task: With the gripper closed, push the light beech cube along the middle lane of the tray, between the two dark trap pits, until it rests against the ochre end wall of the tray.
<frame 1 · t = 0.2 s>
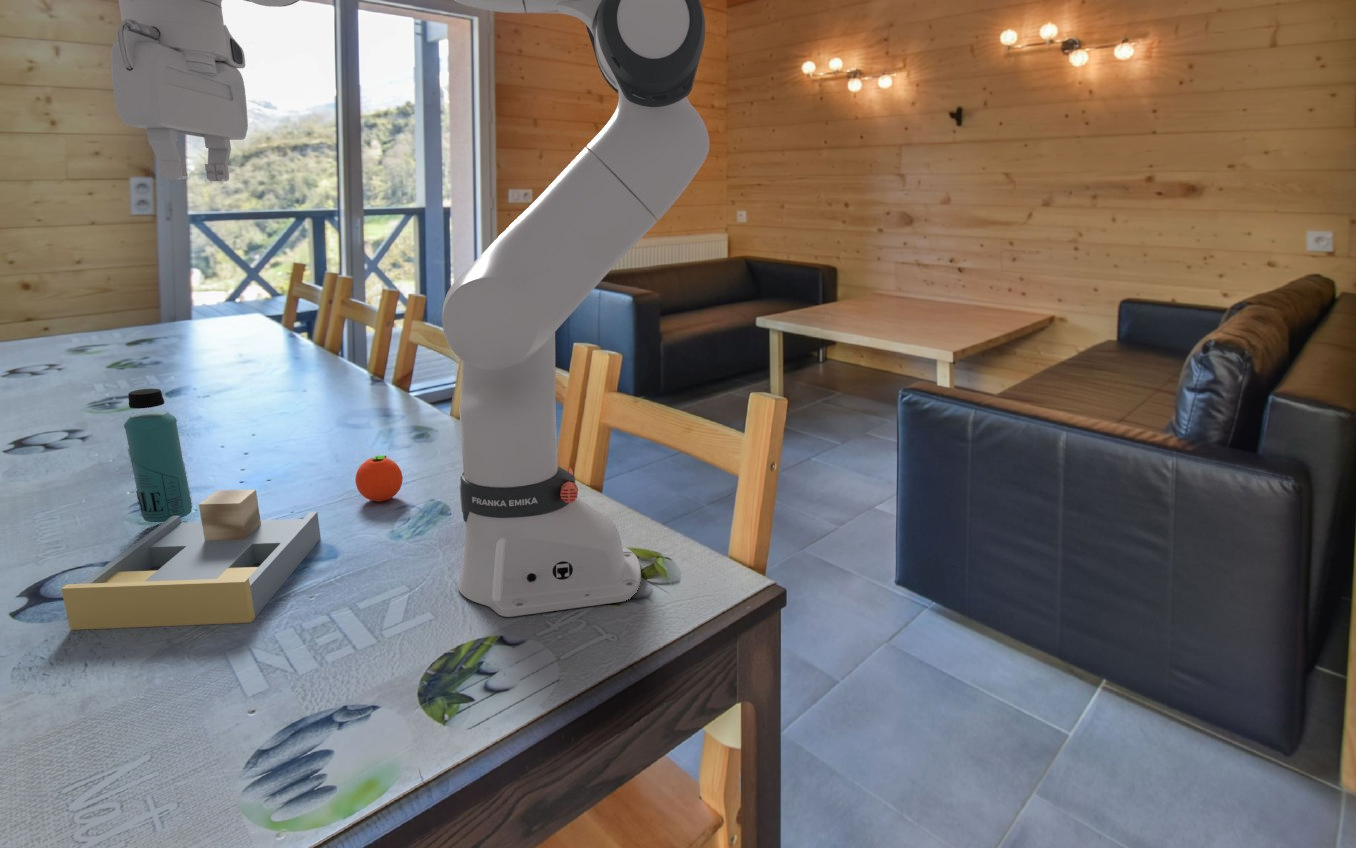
hand: (198, 180, 84), 47 cm above the table, tool pointing down, fingers open, 8 cm apart
beverage bottle: (169, 525, 116), on the table
cube: (233, 532, 106), point 3 cm above the table, touching tray
clementine: (382, 500, 126), on the table
tray: (212, 576, 100), on the table
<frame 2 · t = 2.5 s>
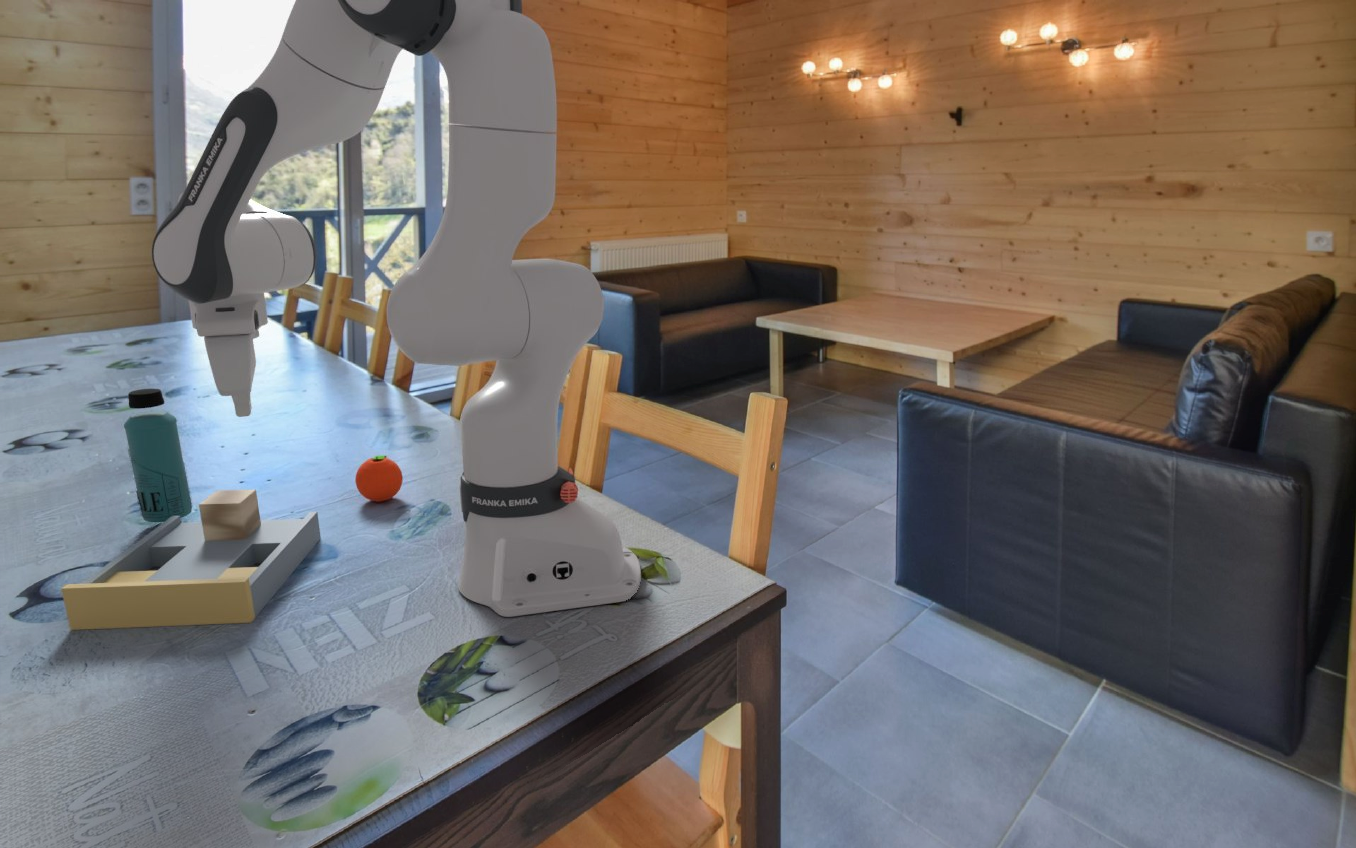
hand: (244, 413, 110), 17 cm above the table, tool pointing down, fingers closed
nothing on the table moved.
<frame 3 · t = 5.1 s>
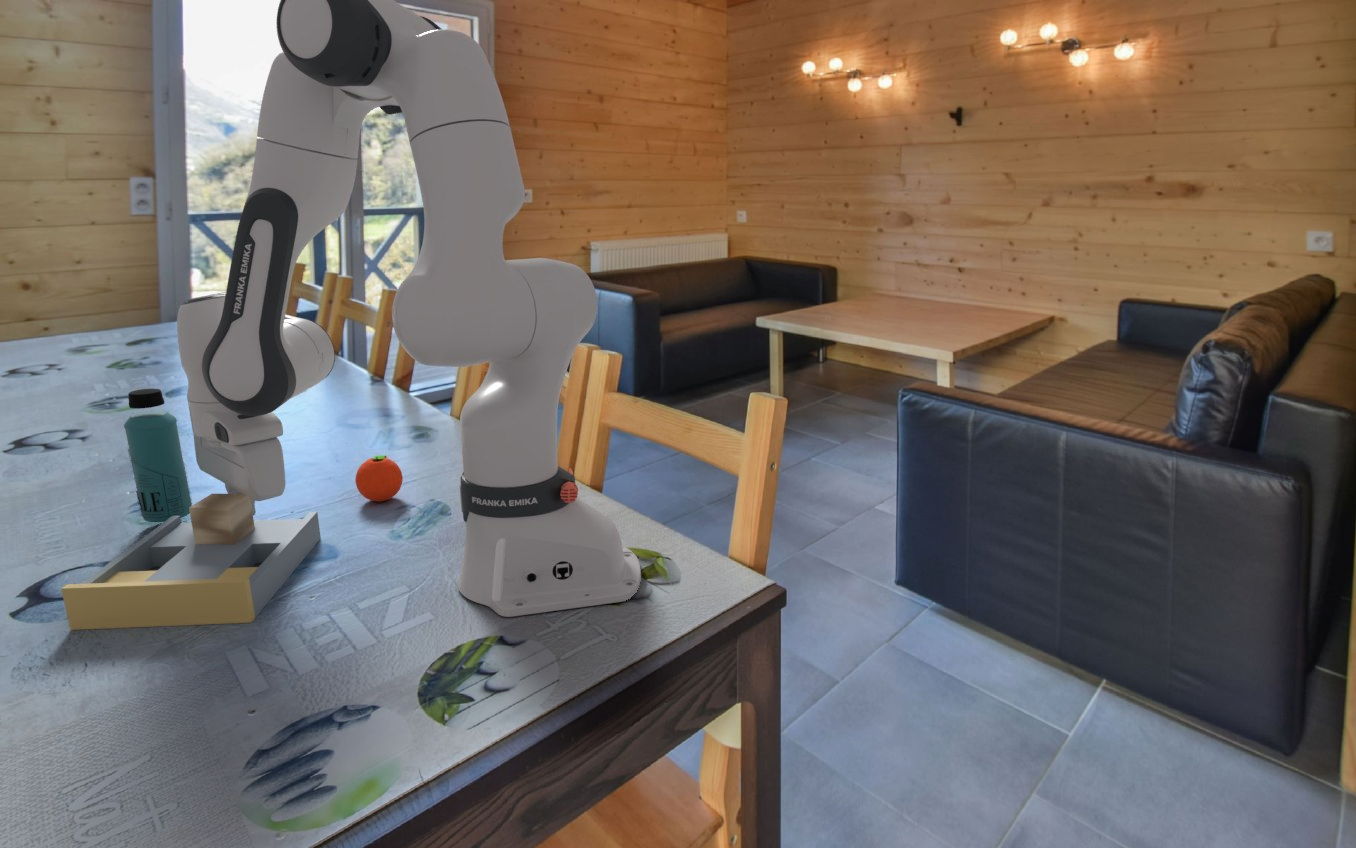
hand: (244, 514, 109), 4 cm above the table, tool pointing down, fingers closed
cube: (225, 536, 105), point 3 cm above the table, touching gripper, tray
everything else where it was.
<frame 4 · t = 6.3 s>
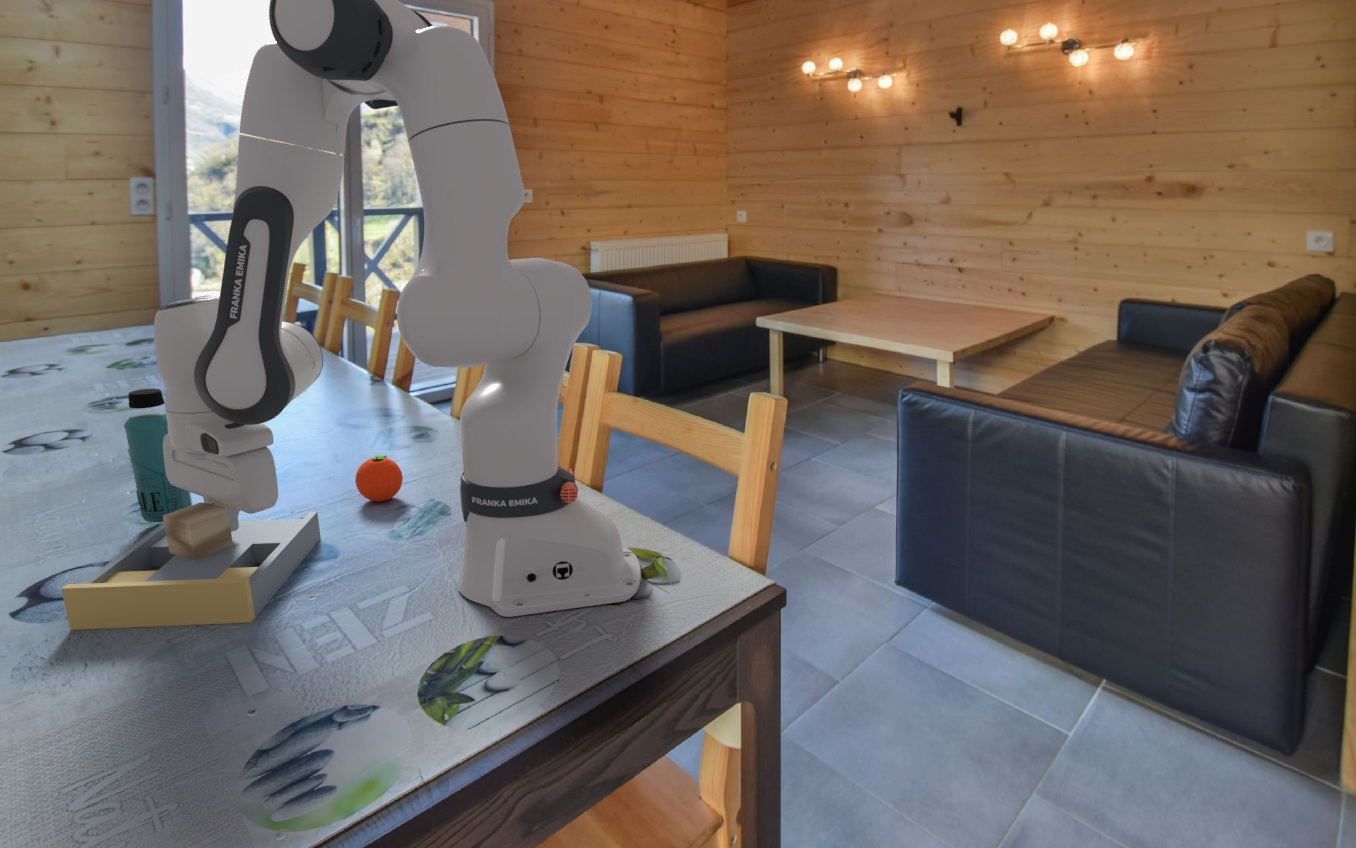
hand: (226, 529, 104), 4 cm above the table, tool pointing down, fingers closed
cube: (201, 549, 101), point 3 cm above the table, touching gripper, tray
everything else where it was.
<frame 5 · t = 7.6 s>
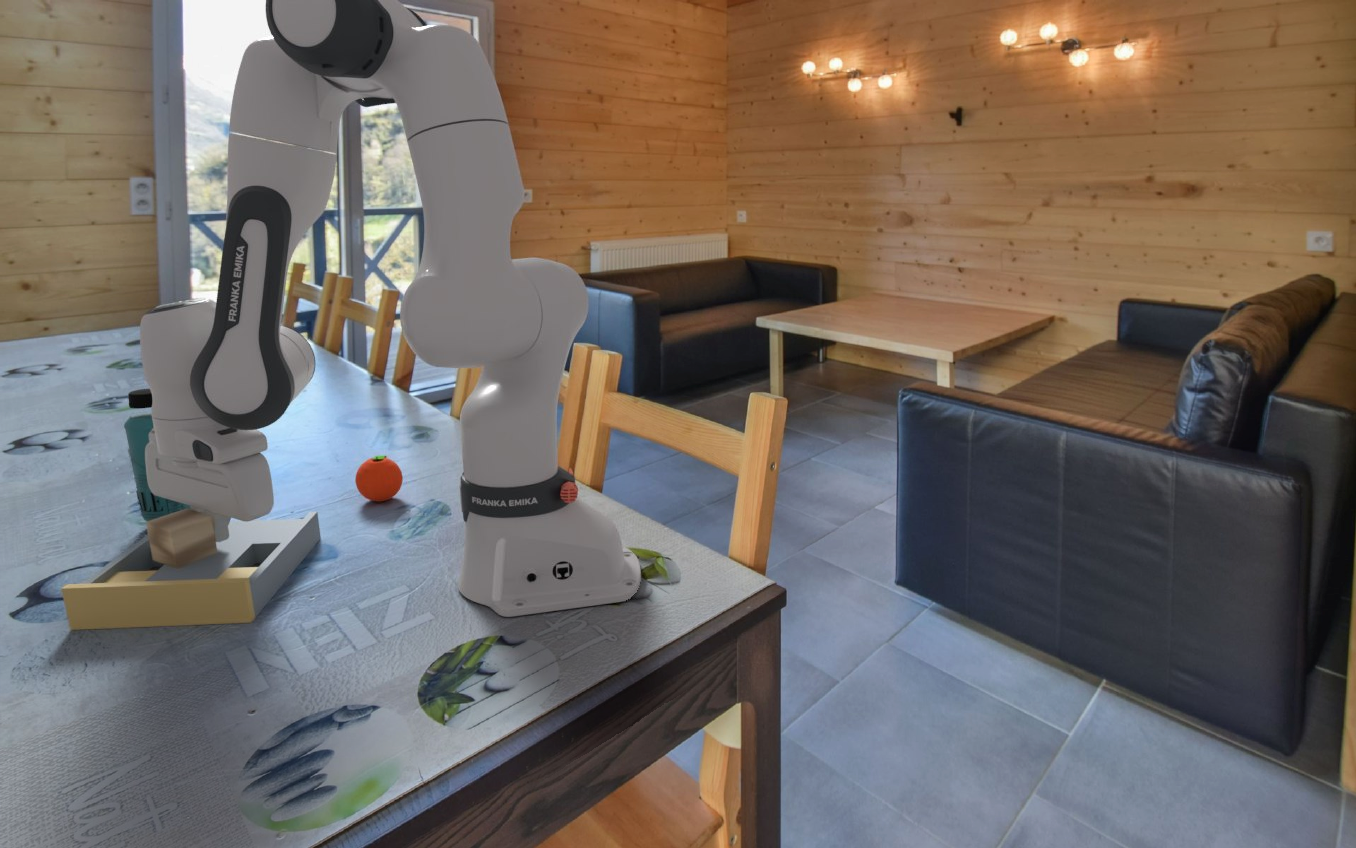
hand: (216, 538, 101), 4 cm above the table, tool pointing down, fingers closed
cube: (185, 556, 99), point 3 cm above the table, touching gripper, tray
everything else where it was.
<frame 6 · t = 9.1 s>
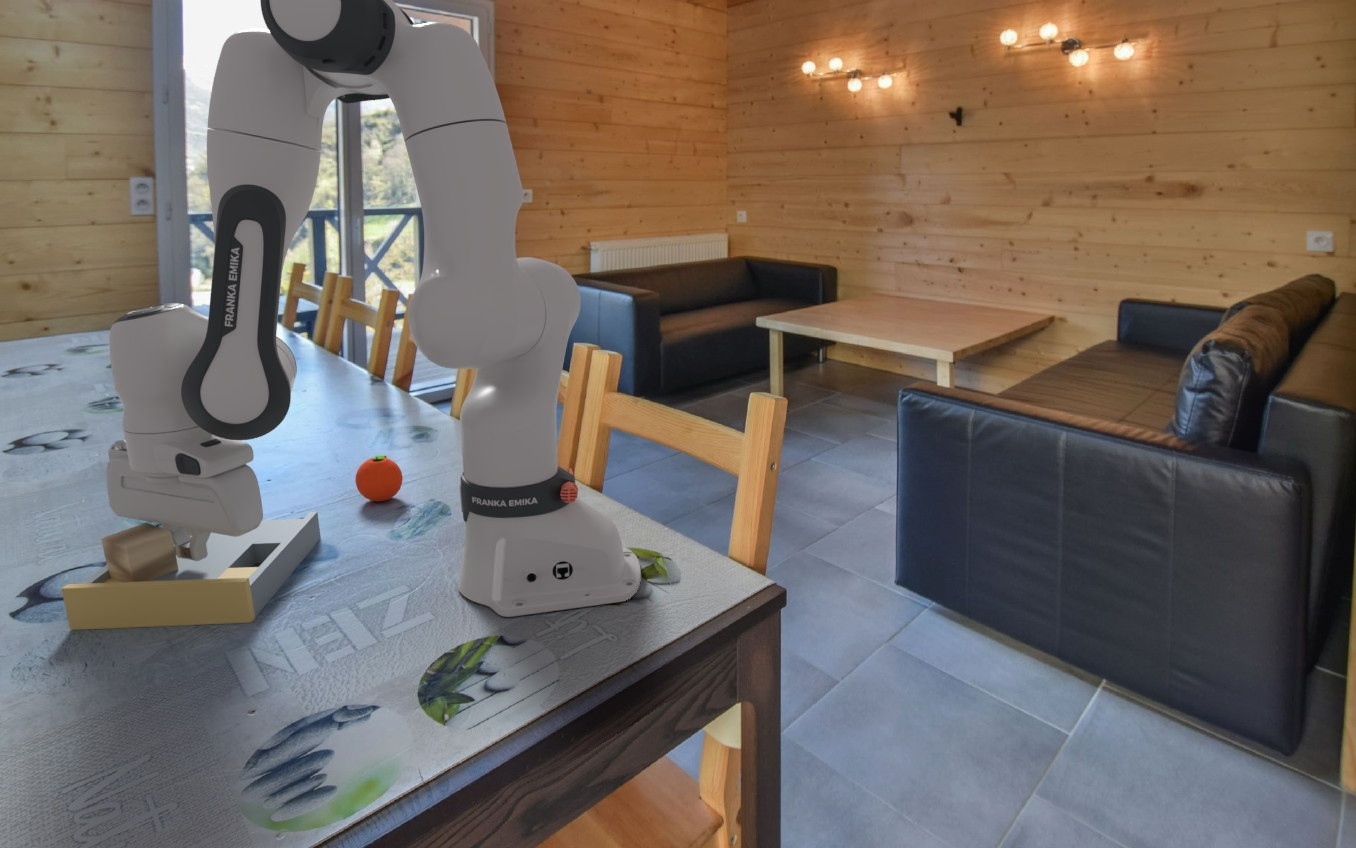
hand: (192, 557, 96), 4 cm above the table, tool pointing down, fingers closed
cube: (144, 573, 94), point 3 cm above the table, touching gripper, tray
everything else where it was.
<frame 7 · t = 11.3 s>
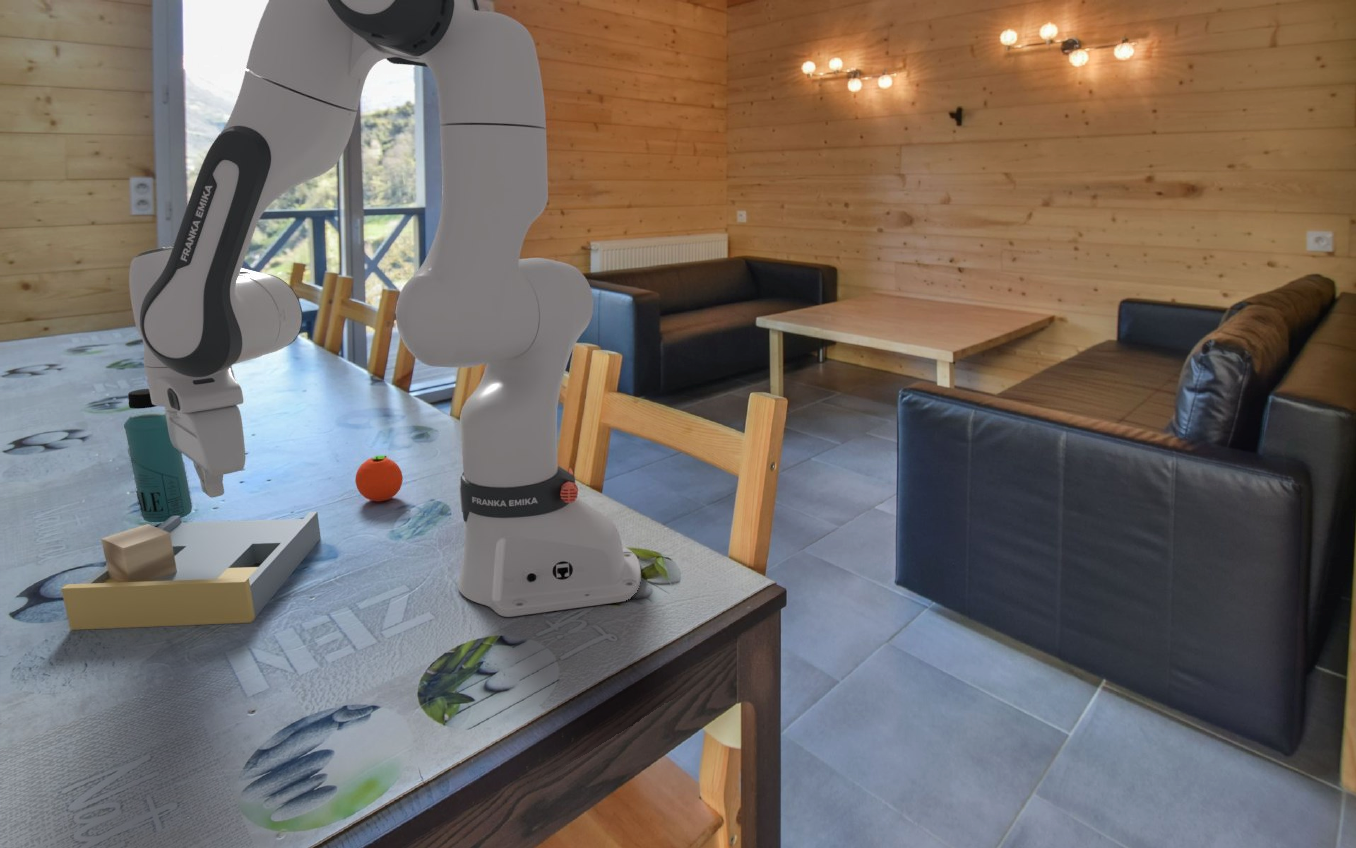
hand: (213, 494, 99), 10 cm above the table, tool pointing down, fingers closed
cube: (143, 575, 94), point 3 cm above the table, touching tray
everything else where it was.
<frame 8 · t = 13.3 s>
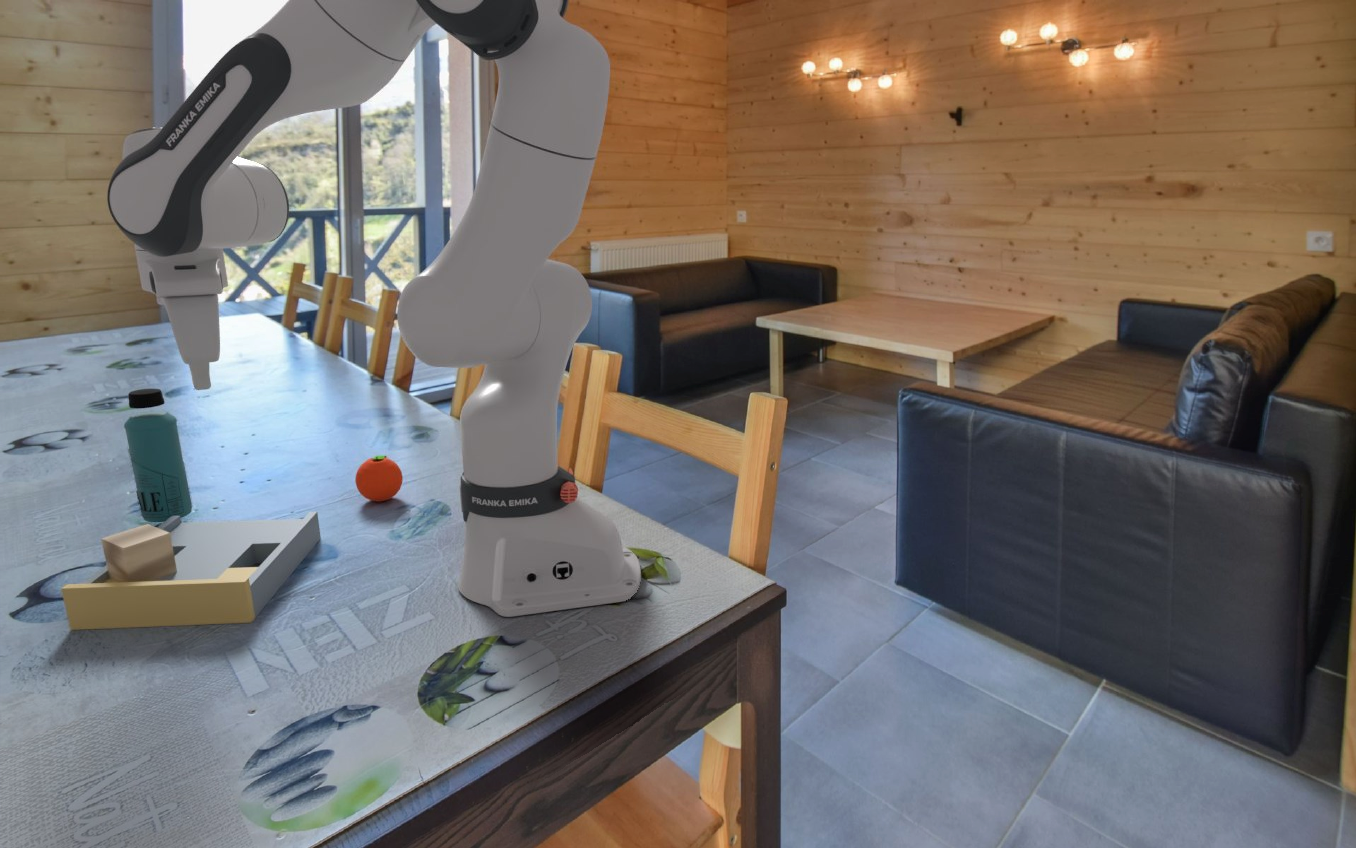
hand: (202, 387, 99), 23 cm above the table, tool pointing down, fingers closed
nothing on the table moved.
at the end: cube inside the target area on the tray (5.4 cm from its centre), point 3.0 cm above the tray's base; cube tilted 0° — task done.
